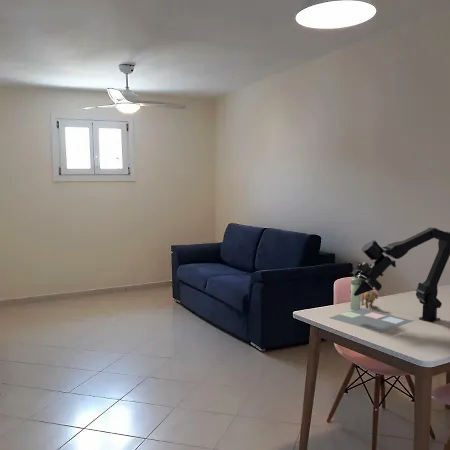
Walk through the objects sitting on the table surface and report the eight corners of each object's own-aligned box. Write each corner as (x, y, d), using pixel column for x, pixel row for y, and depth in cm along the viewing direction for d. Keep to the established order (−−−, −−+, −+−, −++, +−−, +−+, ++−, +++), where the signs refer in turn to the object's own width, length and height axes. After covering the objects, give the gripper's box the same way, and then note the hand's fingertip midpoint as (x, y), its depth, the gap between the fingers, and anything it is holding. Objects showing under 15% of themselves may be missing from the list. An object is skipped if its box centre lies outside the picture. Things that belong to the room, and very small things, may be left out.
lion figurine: (379, 310, 220) (380, 291, 219) (369, 310, 219) (369, 291, 218) (365, 301, 234) (366, 284, 233) (355, 302, 233) (355, 284, 232)
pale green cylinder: (354, 307, 203) (354, 277, 202) (362, 309, 200) (363, 279, 199) (348, 308, 201) (348, 278, 199) (356, 311, 198) (357, 280, 196)
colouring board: (361, 308, 222) (361, 307, 222) (413, 321, 202) (413, 320, 202) (328, 318, 207) (328, 317, 207) (381, 333, 187) (381, 332, 187)
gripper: (357, 251, 208) (332, 276, 208) (374, 258, 189) (347, 286, 189) (373, 268, 209) (349, 293, 209) (393, 277, 191) (366, 304, 191)
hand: (352, 293), depth 200 cm, fingers closed on pale green cylinder, 4 cm apart
